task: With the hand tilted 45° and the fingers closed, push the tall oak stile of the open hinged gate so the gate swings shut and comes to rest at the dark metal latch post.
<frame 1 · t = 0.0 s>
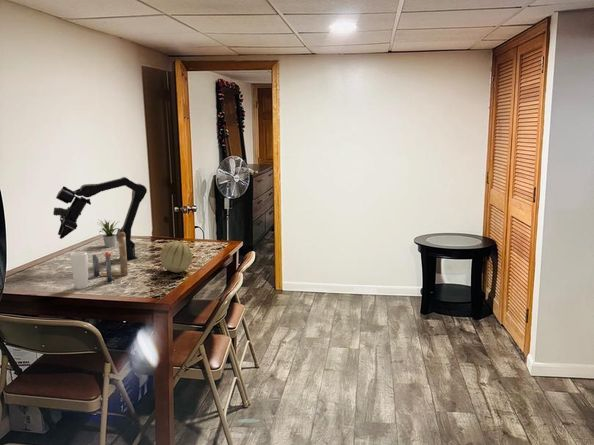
hand: (59, 236, 251), 15 cm above the table, tool tilted 35°, fingers open, 9 cm apart
house plant: (107, 246, 294), on the table
cantaloupe: (177, 272, 246), on the table
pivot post: (96, 276, 238), on the table
latch post: (109, 282, 230), on the table
gate: (113, 253, 237), point 10 cm above the table, hinge at 40.0°
cream white cylinder: (81, 287, 223), on the table
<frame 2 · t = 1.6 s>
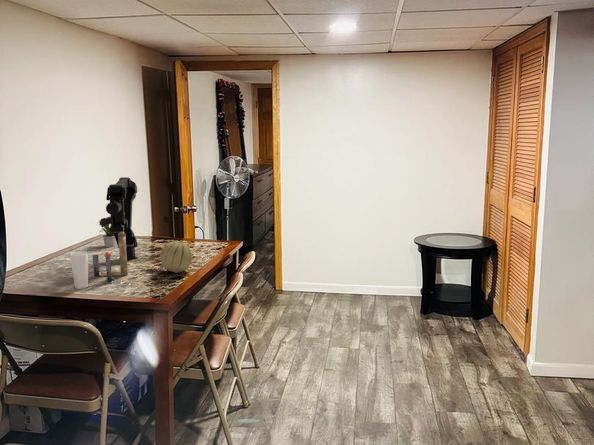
hand: (119, 243, 251), 12 cm above the table, tool pointing down, fingers open, 9 cm apart
nothing on the table moved.
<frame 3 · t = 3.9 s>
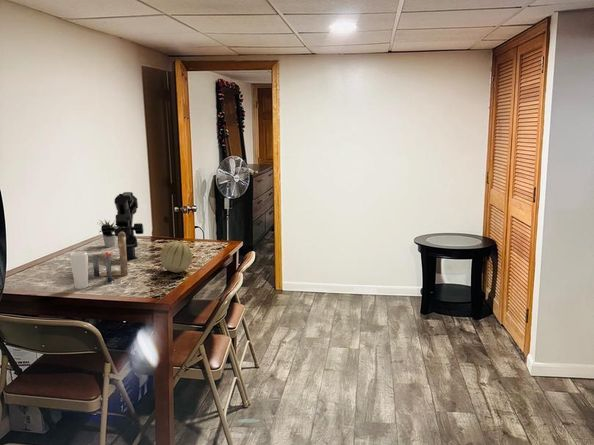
hand: (122, 244, 245), 13 cm above the table, tool tilted 45°, fingers closed
nothing on the table moved.
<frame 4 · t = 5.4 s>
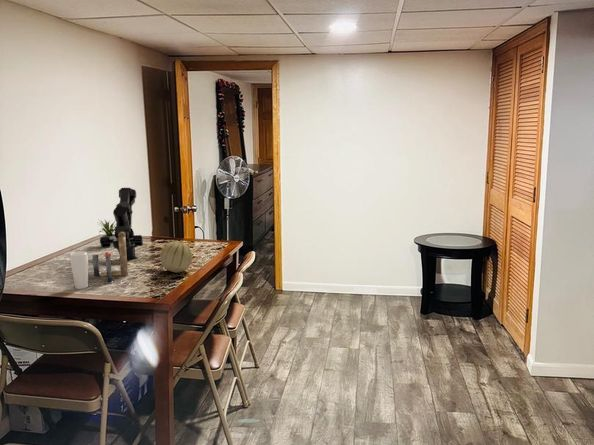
hand: (121, 256, 240), 8 cm above the table, tool tilted 45°, fingers closed
gate: (113, 253, 237), point 10 cm above the table, hinge at 39.9°, touching gripper
everything else where it was.
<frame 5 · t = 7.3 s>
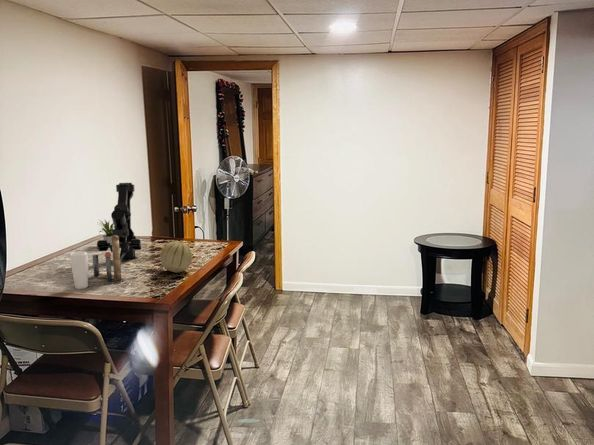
hand: (118, 261, 234), 8 cm above the table, tool tilted 45°, fingers closed
gate: (108, 256, 233), point 10 cm above the table, hinge at 6.1°, touching gripper
everything else where it was.
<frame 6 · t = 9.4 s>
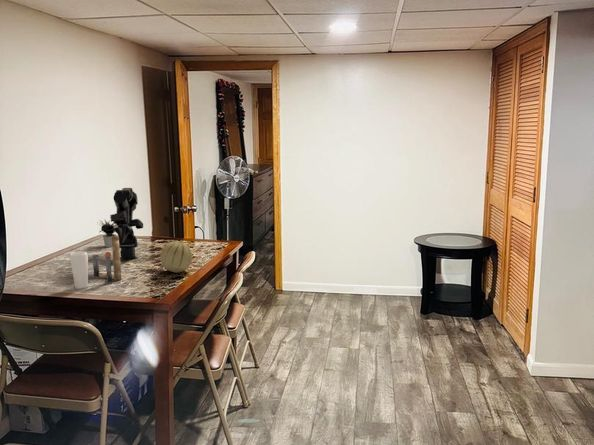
hand: (122, 242, 246), 13 cm above the table, tool tilted 35°, fingers closed
gate: (108, 256, 233), point 10 cm above the table, hinge at 6.1°
everything else where it was.
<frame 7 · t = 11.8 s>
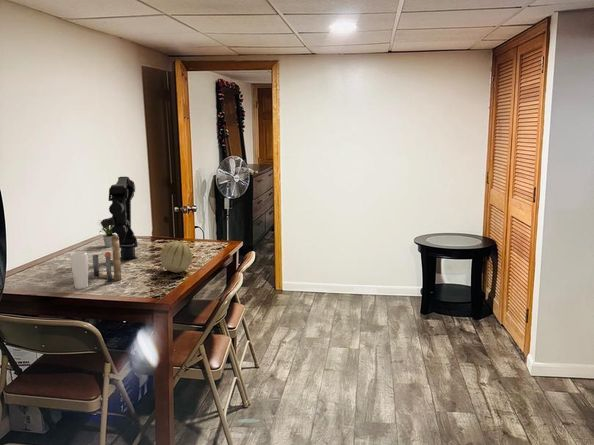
hand: (121, 243, 249), 12 cm above the table, tool pointing down, fingers closed
nothing on the table moved.
at the end: gate at +6° (first picture: +40°); the gripper is holding nothing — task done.
